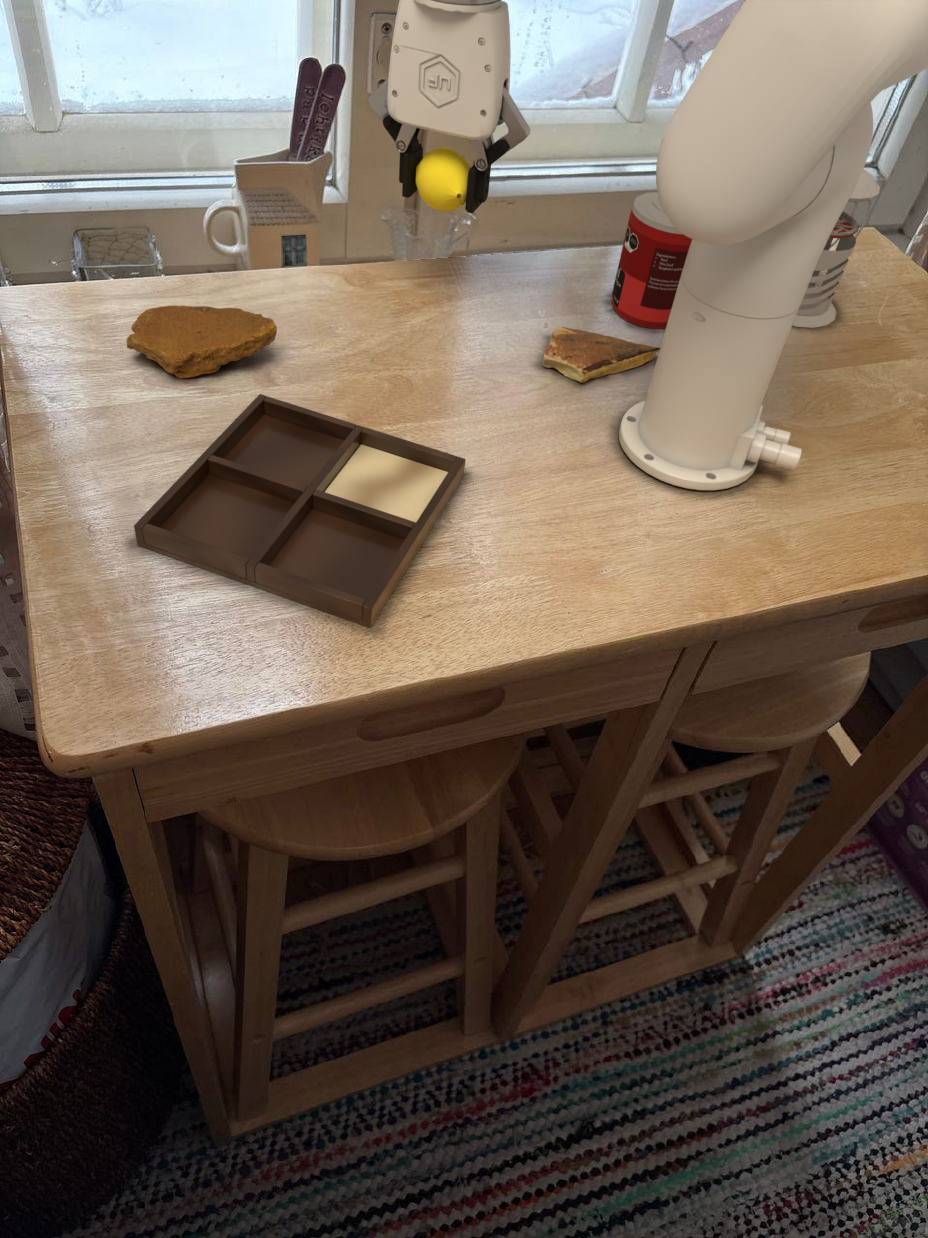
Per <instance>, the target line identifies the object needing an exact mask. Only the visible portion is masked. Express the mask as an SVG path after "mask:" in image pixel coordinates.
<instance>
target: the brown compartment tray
mask: <svg viewBox="0 0 928 1238" xmlns="http://www.w3.org/2000/svg"><path fill="white" fill-rule="evenodd" d="M466 461H467V460H466V458H464V457H461V456H458V455H455V454H451V453H448V452H445V451H442V450H439V449H437V448H436V449H435V448H433V447H429V446H426V445H423V444H420V443H416V442H414V441H410V440H407V439H404V438H401V437H398V436H394V435H391V434H388V433H385V432H382V431H379V430H376V429H373V428H369V427H366V426H363V425H359V424H356V423H353V422H350V421H347V420H344V419H341V418H337V417H334V416H332V415H331V416H330V415H328V414H324V413H321V412H318V411H316V410H312V409H309V408H305V407H302V406H299V405H296V404H292V403H291V402H287V401H284V400H280V399H277V398H274V397H271V396H267V395H265V394H261V393H259V394H258V395H257V396H256V397H255V399H254V400H253V401H252V402H251V403H249V404H248V406H246V408H245V409H244V410H243V411H241V413H240V414H239V415H238V416H237V417H236V418H235V419H234V420H233V421H232V422H231V424H229V426H228V427H226V428H225V430H224V431H223V432H222V433H221V434H220V435H219V436H218V437H217V438H216V439H215V440H214V441H213V442H212V443H211V444H210V445H209V446H208V448H206V449H205V450H204V452H202V454H201V455H199V457H198V458H197V459H196V460H195V461H194V462H193V463H192V464H191V465H190V466H189V467H188V468H187V469H186V470H185V471H184V472H183V474H181V475H180V477H178V479H177V480H176V481H174V483H172V485H171V486H170V487H169V488H168V489H167V490H166V491H165V492H164V493H163V494H162V495H161V497H160V498H159V499H158V500H157V501H156V502H155V503H154V504H153V505H152V506H151V507H150V508H149V509H148V510H147V511H146V512H145V513H144V514H143V515H142V516H141V517H140V518H139V520H137V521H136V523H135V524H134V525H133V529H134V533H135V539H136V545H137V546H138V547H141V548H143V549H146V550H149V551H152V552H155V553H158V554H161V555H163V556H166V557H168V558H172V559H173V560H174V559H175V560H177V561H180V562H183V563H186V564H189V565H191V566H194V567H197V568H200V569H202V570H206V571H209V572H211V573H215V574H216V575H219V576H223V577H226V578H228V579H231V580H234V581H237V582H240V583H243V584H245V585H248V586H251V587H254V588H256V589H259V590H262V591H265V592H268V593H271V594H273V595H276V596H279V597H282V598H284V599H288V600H290V601H293V602H296V603H299V604H302V605H305V606H307V607H310V608H313V609H316V610H318V611H322V612H324V613H328V614H330V615H333V616H336V617H339V618H342V619H343V620H347V621H350V622H352V623H355V624H359V625H361V626H364V627H367V628H370V629H371V628H372V626H373V625H374V623H375V622H376V620H377V619H378V617H379V615H380V614H381V612H382V611H383V609H384V607H385V606H386V604H387V602H388V601H389V600H390V597H391V596H392V594H393V593H394V591H395V589H396V588H397V586H398V585H399V583H400V581H401V580H402V578H403V576H404V575H405V573H406V572H407V570H408V568H409V567H410V565H411V563H412V562H413V560H414V559H415V557H416V555H417V554H418V552H419V550H420V548H421V547H422V545H423V544H424V542H425V541H426V539H427V538H428V536H429V534H430V532H431V531H432V530H433V528H434V526H435V525H436V523H437V521H438V520H439V518H440V516H441V515H442V513H443V512H444V510H445V508H446V507H447V505H448V503H449V501H450V500H451V498H452V497H453V495H454V493H455V492H456V491H457V489H458V487H459V486H460V484H461V482H462V480H463V479H464V476H465V468H466V467H465V466H466Z"/></svg>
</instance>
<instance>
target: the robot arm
mask: <svg viewBox="0 0 928 1238" xmlns="http://www.w3.org/2000/svg"><path fill="white" fill-rule="evenodd" d="M509 11H510V10H509V4H508V2H506V1H503V0H398V6H397V11H396V16H395V21H394V22H395V23H394V28H393V34H392V42H391V47H390V56H389V57H390V59H389V66H388V68H389V69H388V77H387V78H386V79H385V80H384V81H383V82H382V83H381V84H380V85H379V86H378V87H377V89H375V90H374V91H373V93H372V94H371V95H369V97H368V99H367V102H368V106H369V107H370V108H371V110H372V111H373V112H374V113H375V115H376V116H377V118H378V119H379V120H381V122H382V125H383V127H384V129H385V130H386V132H387V133H388V134H389V136H390V137H391V139H392V140H393V141H394V147H395V149H396V151H397V152H398V153H399V166H398V167H399V168H398V171H399V173H398V182H399V184H402V186H401V187H402V188H401V189H402V190H401V196H402V197H403V198H407V199H409V198H411V197H412V196H413V195H414V194H415V193H416V192H418V189H417V186H416V167H417V165H418V164H419V163H420V161H421V160H422V158H423V157H424V147H423V144H422V143H420V140H419V138H420V135H421V133H422V130H424V131H429V132H434V133H438V134H443V135H447V136H451V137H456V138H461V139H465V140H468V141H469V145H470V150H471V155H472V159H473V163H472V166H470V167H471V168H470V169H469V172H468V181H467V193H466V202H465V207H464V210H465V211H466V213H468V214H474V213H475V212H476V211H477V210H478V208H479V207H480V206H481V205H482V204H483V203H485V202H486V201H487V199H488V197H489V192H490V191H489V190H490V179H491V171H492V165H493V164H494V163H495V162H497V161H498V160H499V159H500V158H502V157H503V156H504V155H506V154H507V153H508V152H509V151H511V150H513V149H514V148H515V147H517V146H518V145H520V144H522V142H524V141H525V140H526V139H527V138H528V137H529V136H530V134H531V128H530V126H529V124H528V122H527V121H526V119H525V117H524V116H523V114H522V112H521V111H520V109H519V107H518V106H517V104H516V103H515V101H514V98H513V97H512V96H511V93H510V87H511V84H510V83H511V55H512V54H511V28H510V27H511V24H510V14H509V13H510V12H509ZM927 69H928V0H744V2H743V3H742V4H741V7H740V8H739V10H738V11H737V13H736V15H735V16H734V18H733V19H732V20H731V22H730V24H729V25H728V27H727V28H726V30H725V32H724V33H723V35H722V36H721V37H720V39H719V41H718V43H717V44H716V46H715V47H714V49H713V50H712V52H711V54H710V55H709V57H708V59H707V60H706V61H705V63H704V64H703V66H702V68H701V69H700V71H698V74H697V76H696V77H695V78H694V80H693V82H692V84H690V86H689V88H688V89H687V91H686V93H685V95H684V96H683V98H682V99H681V101H680V102H679V104H678V106H677V107H676V109H675V111H674V112H673V114H672V116H671V118H670V120H669V122H668V124H667V126H666V128H665V131H664V132H663V136H662V139H661V141H660V145H659V149H658V153H657V157H656V158H657V159H656V166H655V183H656V190H657V191H656V192H658V196H659V200H660V203H661V205H662V208H663V210H664V212H665V214H666V216H667V217H668V219H669V220H670V222H671V223H672V224H673V225H674V226H675V228H677V229H678V230H679V231H680V232H681V233H683V234H684V235H685V236H687V237H689V238H691V239H692V242H691V245H690V248H689V251H688V254H687V257H686V261H685V264H684V268H683V271H682V274H681V277H680V281H679V284H678V288H677V291H676V295H675V298H674V302H673V305H672V309H671V312H670V316H669V319H668V323H667V326H666V328H665V330H664V334H663V338H662V341H661V344H660V347H659V348H660V351H659V352H658V355H657V359H656V361H655V365H654V369H653V372H652V376H651V379H650V383H649V387H648V390H647V393H646V398H645V399H644V400H641V401H639V402H638V403H635V404H634V405H633V406H631V407H630V408H628V409H627V410H626V411H625V413H624V415H623V416H622V418H621V422H620V425H619V429H618V438H619V444H620V446H621V448H622V450H623V452H624V454H625V455H626V456H627V457H628V459H629V460H630V461H631V462H632V463H633V464H634V465H635V466H637V467H638V468H639V469H641V470H642V471H643V472H645V473H646V474H648V475H649V476H651V477H653V478H655V479H657V480H659V481H661V482H663V483H667V484H668V485H669V484H670V485H672V486H675V487H679V488H684V489H687V490H696V491H718V490H725V489H726V490H727V489H730V488H733V487H736V486H738V485H741V484H742V483H744V482H746V481H747V480H748V479H749V478H751V477H752V476H753V474H754V473H755V471H756V469H757V466H758V464H759V461H764V462H767V463H771V464H774V466H778V467H782V468H785V469H788V470H791V471H795V470H796V469H797V467H798V464H799V461H800V459H801V456H802V452H803V448H800V447H797V446H793V445H790V444H789V441H790V438H791V435H792V434H791V433H792V432H791V431H788V430H787V431H786V430H784V429H781V428H780V429H779V428H774V427H771V426H767V425H766V422H764V421H762V420H760V419H761V415H762V412H763V409H764V405H763V402H764V400H765V397H766V394H767V391H768V389H769V386H770V384H771V381H772V379H773V376H774V374H775V371H776V368H777V365H778V363H779V360H780V358H781V355H782V353H783V350H784V347H785V345H786V342H787V339H788V337H789V335H790V332H791V330H792V327H793V326H792V325H793V322H794V319H795V317H796V314H797V312H798V309H799V307H800V305H801V303H802V300H803V298H804V295H805V292H806V290H807V287H808V285H809V282H810V280H811V277H812V275H813V272H814V270H815V268H816V265H817V263H818V261H819V258H820V256H821V254H822V251H823V249H824V247H825V245H826V243H827V241H828V239H829V237H830V235H831V233H832V230H833V228H834V227H835V225H836V223H837V221H838V219H839V217H840V215H841V213H842V212H844V210H845V208H846V206H847V204H848V200H849V198H850V196H851V194H852V192H853V190H854V188H855V186H856V184H857V182H858V180H859V178H860V176H861V173H862V171H863V169H865V165H866V163H867V160H868V158H869V154H870V151H871V147H872V141H873V135H874V112H873V107H872V101H873V100H874V99H875V98H876V97H878V95H879V94H880V93H881V92H883V91H885V90H887V89H889V88H890V87H893V86H895V85H898V84H899V83H902V82H904V81H906V80H908V79H910V78H912V77H914V76H915V75H917V74H920V73H921V72H923V71H925V70H927ZM503 124H505V126H506V128H507V133H506V134H504V135H502V136H501V137H500V138H498V140H496V141H495V139H494V133H495V132H496V130H497V128H498V126H501V125H503Z"/></svg>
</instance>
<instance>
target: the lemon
mask: <svg viewBox="0 0 928 1238" xmlns="http://www.w3.org/2000/svg"><path fill="white" fill-rule="evenodd" d="M471 167H472V166H470V164H469V162H468V159H466V157H465V156H464V155H462V154H461V153H460V152H458V151H457V150H456V149H454V148H450V147H443V146H440V147H438V148H436V149H432V150H431V151H428V152H426V153H425V154H423V158H422V160H421V161H420V163H419V164H418V165H417V167H416V186H417V189H418V190H417V192H418V194H419V197H420V198H421V200H423V202H424V203H425V204H426V205H427V206H428V207H429V208H431V209H433V210H436V211H438V212H449V211H450V212H451V211H456V210H459V208H461V207H462V206H463V205H465V204H466V193H467V181H468V172H469V169H470V168H471Z"/></svg>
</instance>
